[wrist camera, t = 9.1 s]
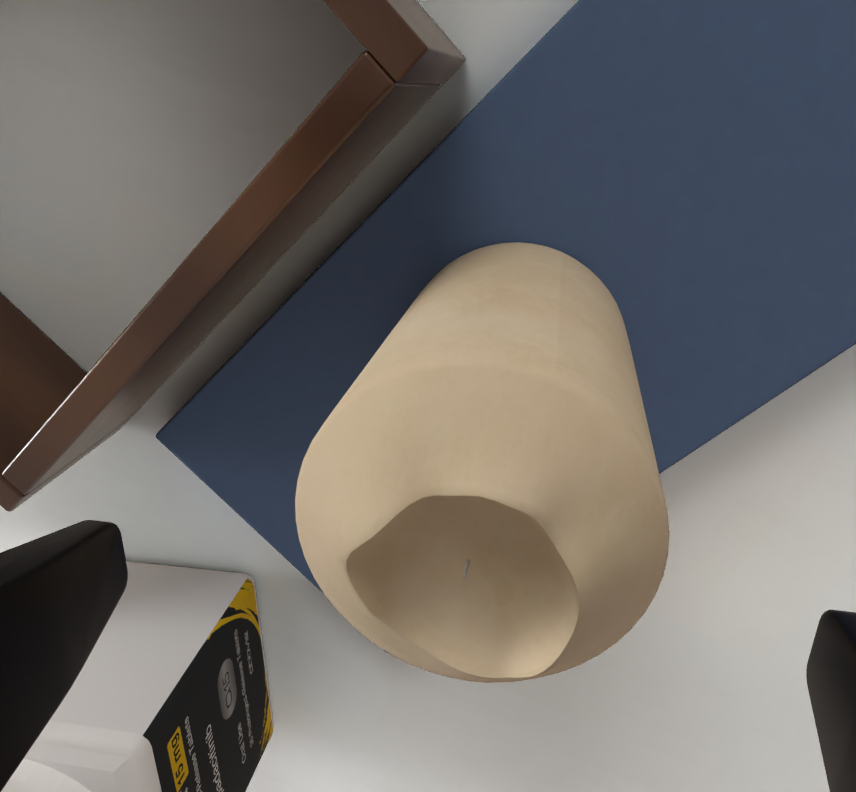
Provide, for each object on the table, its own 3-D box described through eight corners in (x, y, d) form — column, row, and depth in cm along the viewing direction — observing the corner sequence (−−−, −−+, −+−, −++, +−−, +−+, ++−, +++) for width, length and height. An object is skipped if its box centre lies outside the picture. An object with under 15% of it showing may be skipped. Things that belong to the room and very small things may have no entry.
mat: (394, 633, 24) (387, 655, 23) (170, 422, 22) (153, 436, 21) (1007, 220, 16) (1034, 227, 15) (732, -153, 14) (742, -169, 14)
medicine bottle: (277, 729, 27) (76, 1167, 16) (103, 704, 28) (-195, 1095, 17) (256, 570, 24) (-4, 968, 13) (64, 550, 25) (-320, 899, 14)
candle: (379, 393, 20) (212, 657, 10) (457, 201, 17) (329, 328, 8) (565, 476, 19) (560, 814, 10) (669, 295, 17) (778, 528, 8)
